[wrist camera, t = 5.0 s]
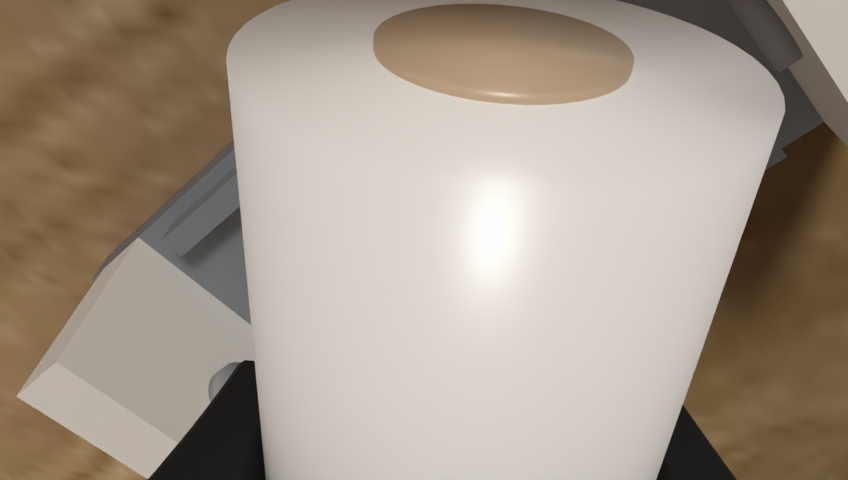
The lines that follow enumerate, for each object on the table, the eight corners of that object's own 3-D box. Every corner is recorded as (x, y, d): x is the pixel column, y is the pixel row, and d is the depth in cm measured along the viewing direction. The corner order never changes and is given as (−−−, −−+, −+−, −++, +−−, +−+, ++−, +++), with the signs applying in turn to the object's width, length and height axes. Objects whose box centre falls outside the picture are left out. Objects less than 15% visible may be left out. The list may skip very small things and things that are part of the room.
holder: (894, 47, 16) (1064, 167, 12) (321, 417, 23) (286, 581, 19) (698, -290, 13) (826, -308, 8) (108, 257, 20) (4, 407, 16)
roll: (698, -13, 9) (906, 196, 5) (548, 574, 16) (581, 871, 12) (284, -41, 9) (140, 146, 5) (312, 559, 16) (261, 851, 12)
